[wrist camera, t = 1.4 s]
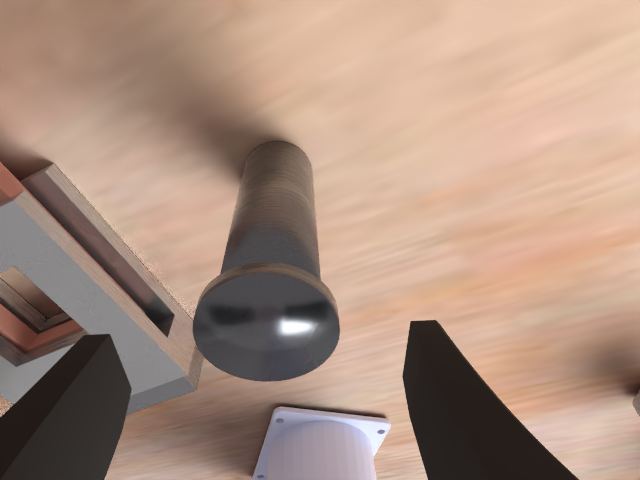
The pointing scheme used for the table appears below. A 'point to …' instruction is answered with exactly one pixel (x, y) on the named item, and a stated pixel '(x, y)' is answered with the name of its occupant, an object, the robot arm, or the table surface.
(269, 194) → the pin
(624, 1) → the table surface
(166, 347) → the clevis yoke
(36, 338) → the link arm
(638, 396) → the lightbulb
